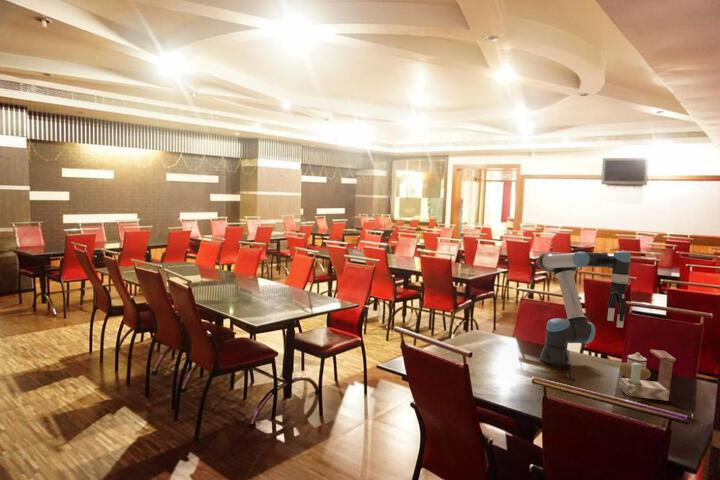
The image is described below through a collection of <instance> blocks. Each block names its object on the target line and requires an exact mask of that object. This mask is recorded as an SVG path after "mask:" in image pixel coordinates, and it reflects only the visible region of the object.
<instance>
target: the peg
mask: <svg viewBox="0 0 720 480" xmlns="http://www.w3.org/2000/svg"><path fill="white" fill-rule="evenodd" d="M641 366H642V365H641V364H639V363H632V370H631V379H630V384H635V385H639V383H640V374H641Z"/></svg>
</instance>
